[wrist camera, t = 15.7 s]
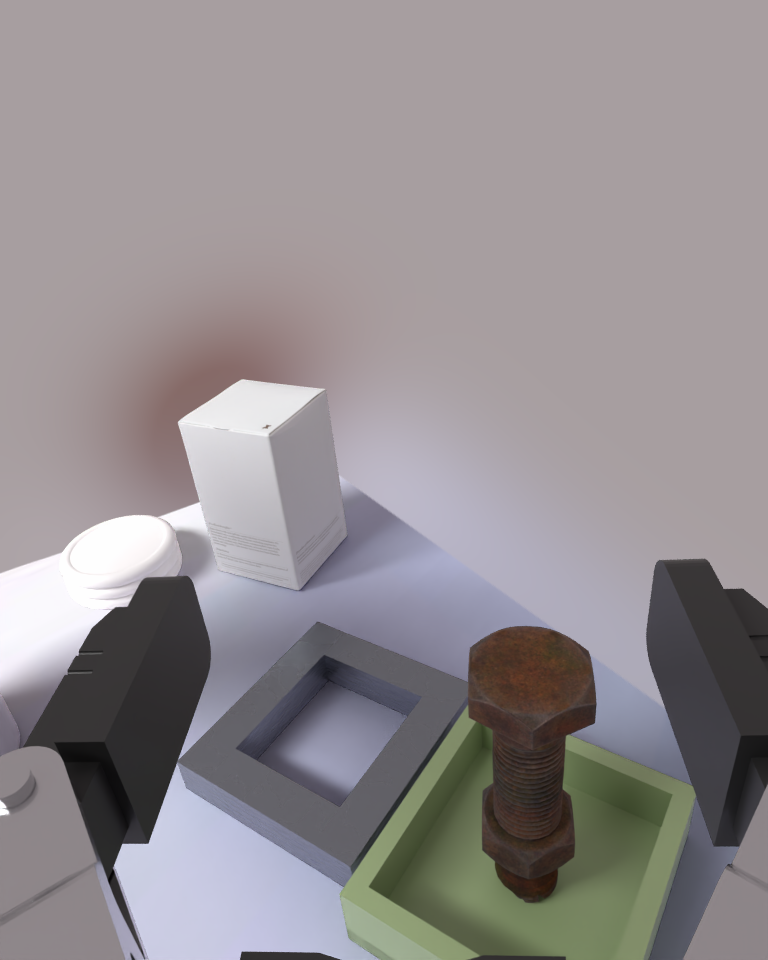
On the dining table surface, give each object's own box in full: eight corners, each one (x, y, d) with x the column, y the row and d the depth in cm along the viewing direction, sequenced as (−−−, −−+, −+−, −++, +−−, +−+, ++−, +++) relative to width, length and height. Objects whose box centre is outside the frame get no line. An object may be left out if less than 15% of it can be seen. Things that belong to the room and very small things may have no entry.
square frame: (186, 788, 45) (176, 761, 44) (322, 646, 55) (317, 621, 53) (355, 894, 38) (350, 866, 37) (475, 711, 48) (475, 685, 47)
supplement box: (351, 534, 67) (331, 386, 59) (300, 594, 60) (269, 435, 53) (271, 517, 71) (242, 375, 63) (214, 570, 64) (174, 419, 57)
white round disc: (180, 532, 70) (171, 502, 68) (187, 593, 62) (178, 561, 60) (73, 558, 68) (61, 528, 66) (66, 625, 60) (52, 593, 58)
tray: (348, 938, 37) (339, 894, 34) (475, 739, 46) (473, 695, 44) (602, 1108, 30) (608, 1066, 28) (688, 834, 40) (697, 787, 38)
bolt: (546, 813, 40) (554, 608, 33) (603, 895, 36) (627, 684, 29) (453, 856, 39) (439, 651, 31) (502, 947, 35) (499, 738, 27)
